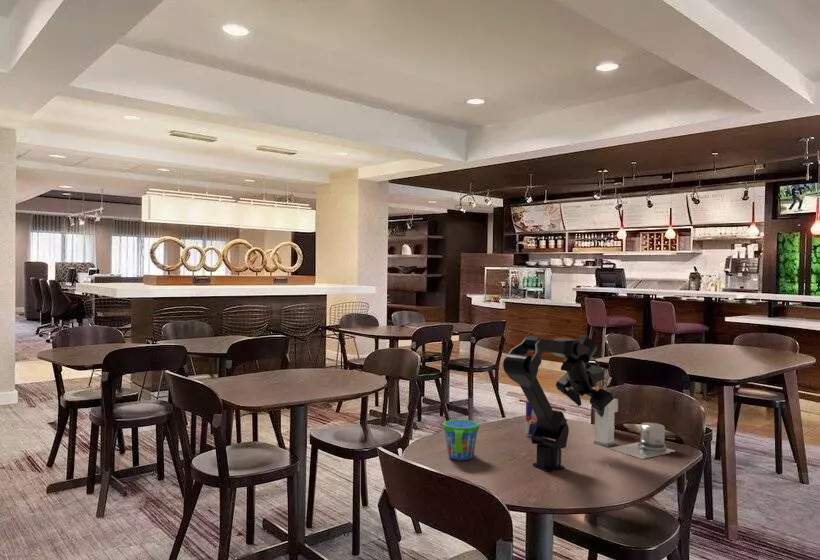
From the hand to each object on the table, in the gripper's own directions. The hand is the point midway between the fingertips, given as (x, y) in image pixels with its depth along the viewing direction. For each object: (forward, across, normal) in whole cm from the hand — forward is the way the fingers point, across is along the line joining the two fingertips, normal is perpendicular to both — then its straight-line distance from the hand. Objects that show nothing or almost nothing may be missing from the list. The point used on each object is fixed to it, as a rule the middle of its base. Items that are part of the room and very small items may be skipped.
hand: (590, 410), depth 186 cm
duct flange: (+17, -10, -6) cm, 21 cm away
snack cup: (-10, +11, +42) cm, 44 cm away
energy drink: (+10, +17, +13) cm, 24 cm away
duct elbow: (+17, +1, -2) cm, 17 cm away
